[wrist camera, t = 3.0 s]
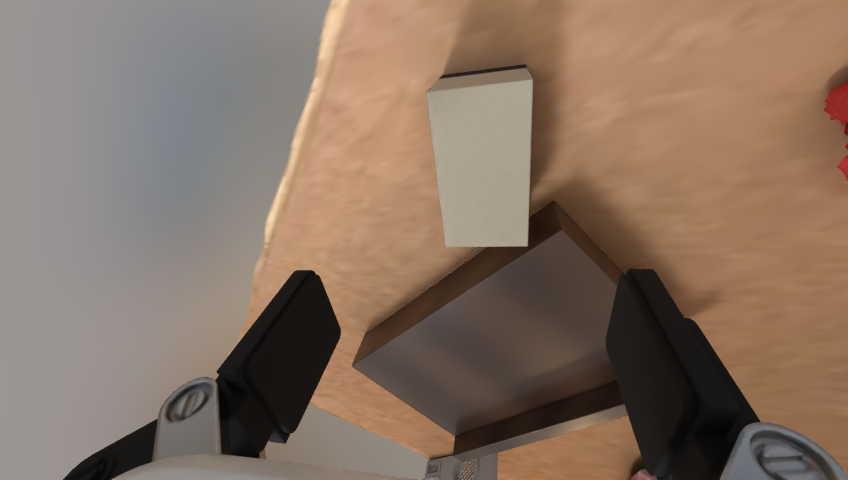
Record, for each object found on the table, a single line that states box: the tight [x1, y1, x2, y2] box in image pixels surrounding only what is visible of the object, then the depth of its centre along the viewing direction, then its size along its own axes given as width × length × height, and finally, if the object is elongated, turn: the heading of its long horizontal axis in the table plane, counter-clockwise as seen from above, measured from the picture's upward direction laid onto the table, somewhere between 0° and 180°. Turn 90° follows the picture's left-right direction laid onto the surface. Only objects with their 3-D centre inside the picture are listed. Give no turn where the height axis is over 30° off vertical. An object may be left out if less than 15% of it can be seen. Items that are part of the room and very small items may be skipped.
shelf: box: [352, 201, 628, 462], centre depth 30 cm, size 24×16×6 cm, turn 138°
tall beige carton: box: [426, 65, 533, 247], centre depth 21 cm, size 10×5×6 cm, turn 8°
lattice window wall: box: [423, 453, 497, 480], centre depth 45 cm, size 12×2×6 cm, turn 131°
